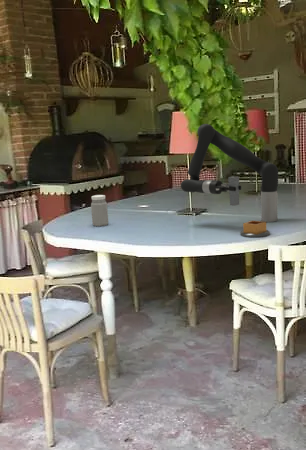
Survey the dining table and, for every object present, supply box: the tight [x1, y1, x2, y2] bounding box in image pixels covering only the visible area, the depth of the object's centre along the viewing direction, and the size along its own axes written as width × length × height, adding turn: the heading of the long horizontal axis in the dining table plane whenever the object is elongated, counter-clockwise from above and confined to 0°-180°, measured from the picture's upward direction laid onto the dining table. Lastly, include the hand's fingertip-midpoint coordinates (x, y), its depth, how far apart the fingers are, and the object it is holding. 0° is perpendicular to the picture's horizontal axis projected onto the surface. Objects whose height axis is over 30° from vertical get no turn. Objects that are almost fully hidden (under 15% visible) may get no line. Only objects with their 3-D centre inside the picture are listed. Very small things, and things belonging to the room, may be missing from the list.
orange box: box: [240, 220, 271, 239], centre depth 274 cm, size 15×15×6 cm
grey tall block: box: [227, 175, 240, 206], centre depth 282 cm, size 4×4×15 cm
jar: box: [90, 194, 109, 227], centre depth 323 cm, size 10×10×18 cm
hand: (238, 188), depth 280 cm, fingers closed on grey tall block, 4 cm apart
